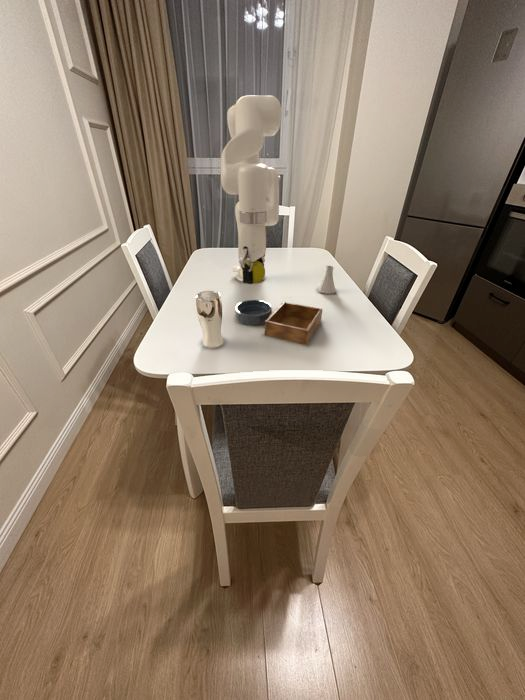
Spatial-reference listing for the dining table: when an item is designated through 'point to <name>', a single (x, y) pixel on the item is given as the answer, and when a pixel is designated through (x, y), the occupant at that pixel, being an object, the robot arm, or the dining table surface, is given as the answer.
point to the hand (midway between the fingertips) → (253, 278)
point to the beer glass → (210, 317)
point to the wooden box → (293, 322)
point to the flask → (327, 282)
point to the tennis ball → (257, 271)
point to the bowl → (253, 312)
